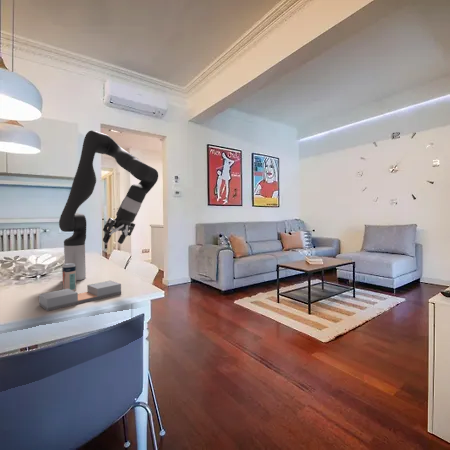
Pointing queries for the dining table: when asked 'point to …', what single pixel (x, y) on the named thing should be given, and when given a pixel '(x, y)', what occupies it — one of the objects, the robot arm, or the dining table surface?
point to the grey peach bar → (78, 295)
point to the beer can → (69, 276)
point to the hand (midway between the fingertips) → (112, 242)
